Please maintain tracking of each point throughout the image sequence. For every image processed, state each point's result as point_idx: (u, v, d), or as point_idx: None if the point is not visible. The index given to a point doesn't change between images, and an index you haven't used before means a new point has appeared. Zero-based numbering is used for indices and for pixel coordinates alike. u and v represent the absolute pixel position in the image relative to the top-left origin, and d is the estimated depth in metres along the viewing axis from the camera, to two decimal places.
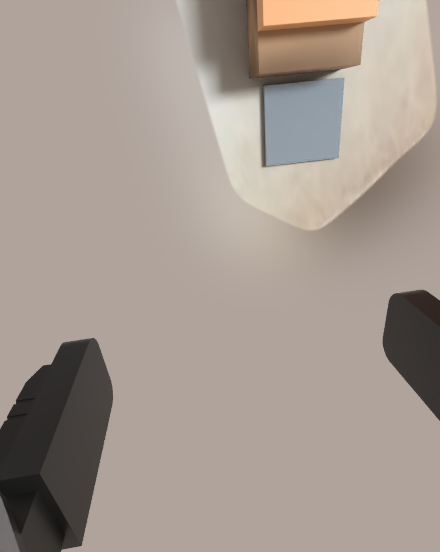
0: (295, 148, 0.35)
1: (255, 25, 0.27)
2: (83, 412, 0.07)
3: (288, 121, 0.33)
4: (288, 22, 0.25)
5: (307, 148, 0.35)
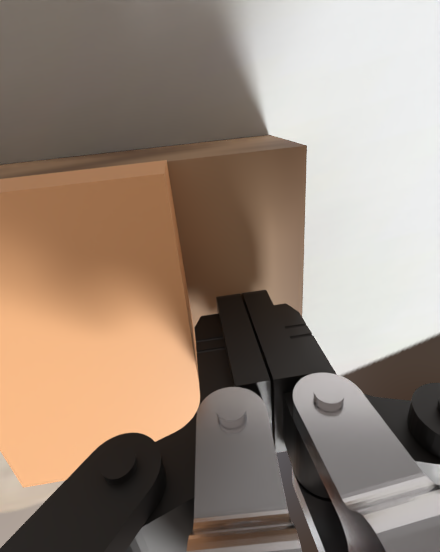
0: None
1: None
2: None
3: None
4: None
5: None
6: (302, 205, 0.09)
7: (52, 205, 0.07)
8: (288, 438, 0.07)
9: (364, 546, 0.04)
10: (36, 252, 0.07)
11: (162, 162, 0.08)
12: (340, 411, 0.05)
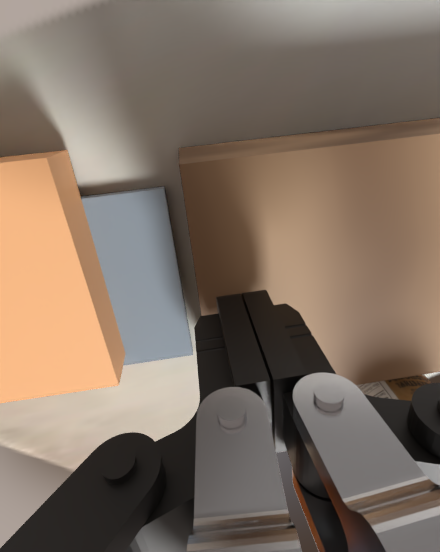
0: None
1: (302, 145, 0.09)
2: None
3: None
4: None
5: None
6: None
7: None
8: (288, 438, 0.07)
9: (364, 546, 0.04)
10: None
11: None
12: (340, 411, 0.05)
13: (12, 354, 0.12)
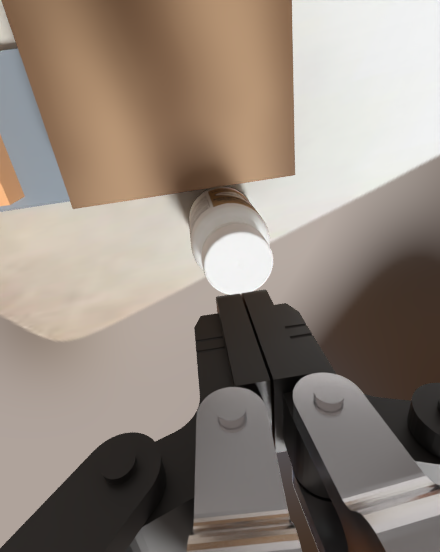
0: None
1: None
2: None
3: None
4: None
5: None
6: (290, 3, 0.14)
7: None
8: (288, 438, 0.07)
9: (364, 546, 0.04)
10: None
11: None
12: (340, 411, 0.05)
13: None
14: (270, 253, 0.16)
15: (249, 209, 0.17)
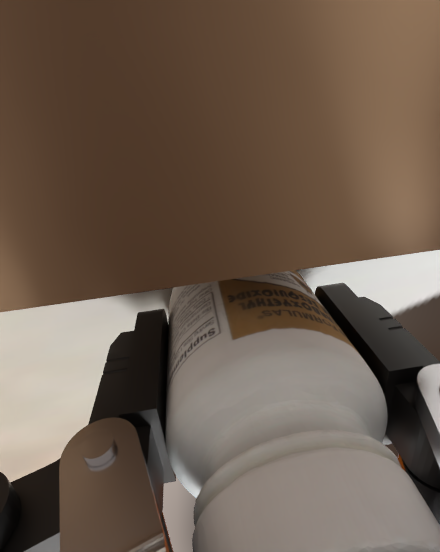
0: None
1: None
2: (166, 370, 0.08)
3: None
4: None
5: None
6: None
7: None
8: (400, 431, 0.06)
9: None
10: None
11: None
12: None
13: None
14: None
15: (342, 353, 0.06)
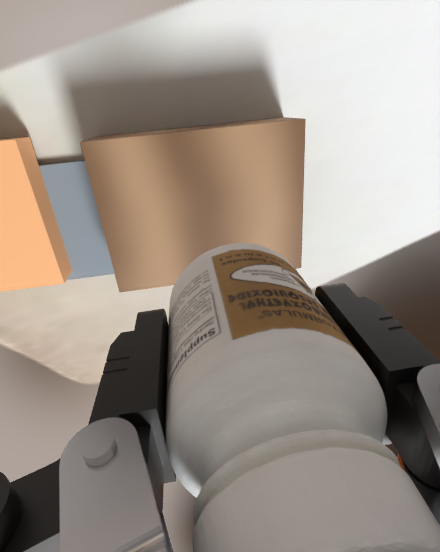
0: None
1: (149, 134, 0.18)
2: (166, 370, 0.08)
3: None
4: (38, 171, 0.21)
5: None
6: (303, 150, 0.19)
7: None
8: (400, 431, 0.06)
9: None
10: None
11: None
12: None
13: None
14: None
15: (342, 353, 0.06)
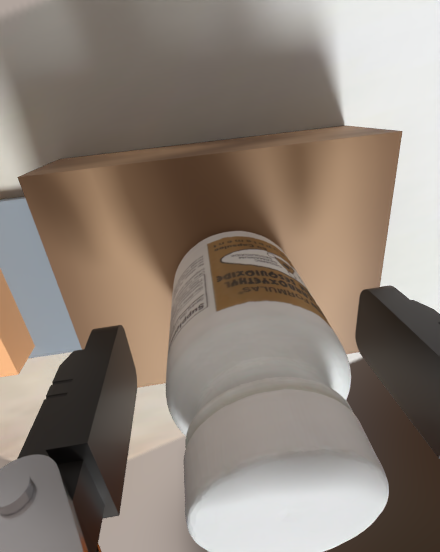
0: None
1: (139, 159, 0.11)
2: (116, 393, 0.07)
3: None
4: None
5: None
6: (392, 182, 0.11)
7: None
8: None
9: None
10: None
11: None
12: None
13: None
14: (384, 488, 0.05)
15: (306, 320, 0.07)
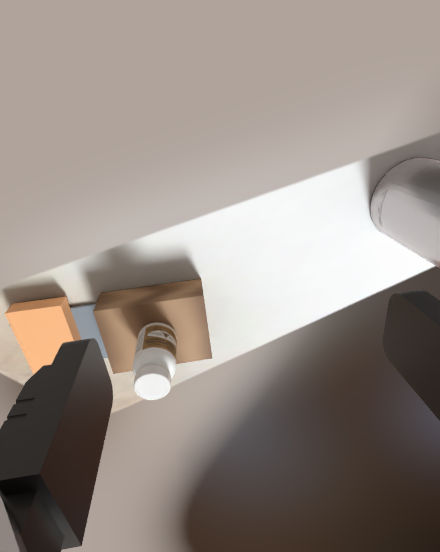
0: None
1: (126, 302, 0.36)
2: (83, 412, 0.07)
3: None
4: (70, 311, 0.39)
5: None
6: (204, 307, 0.37)
7: None
8: None
9: None
10: None
11: (7, 311, 0.36)
12: None
13: (49, 356, 0.39)
14: (167, 380, 0.31)
15: (160, 351, 0.32)
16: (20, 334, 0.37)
